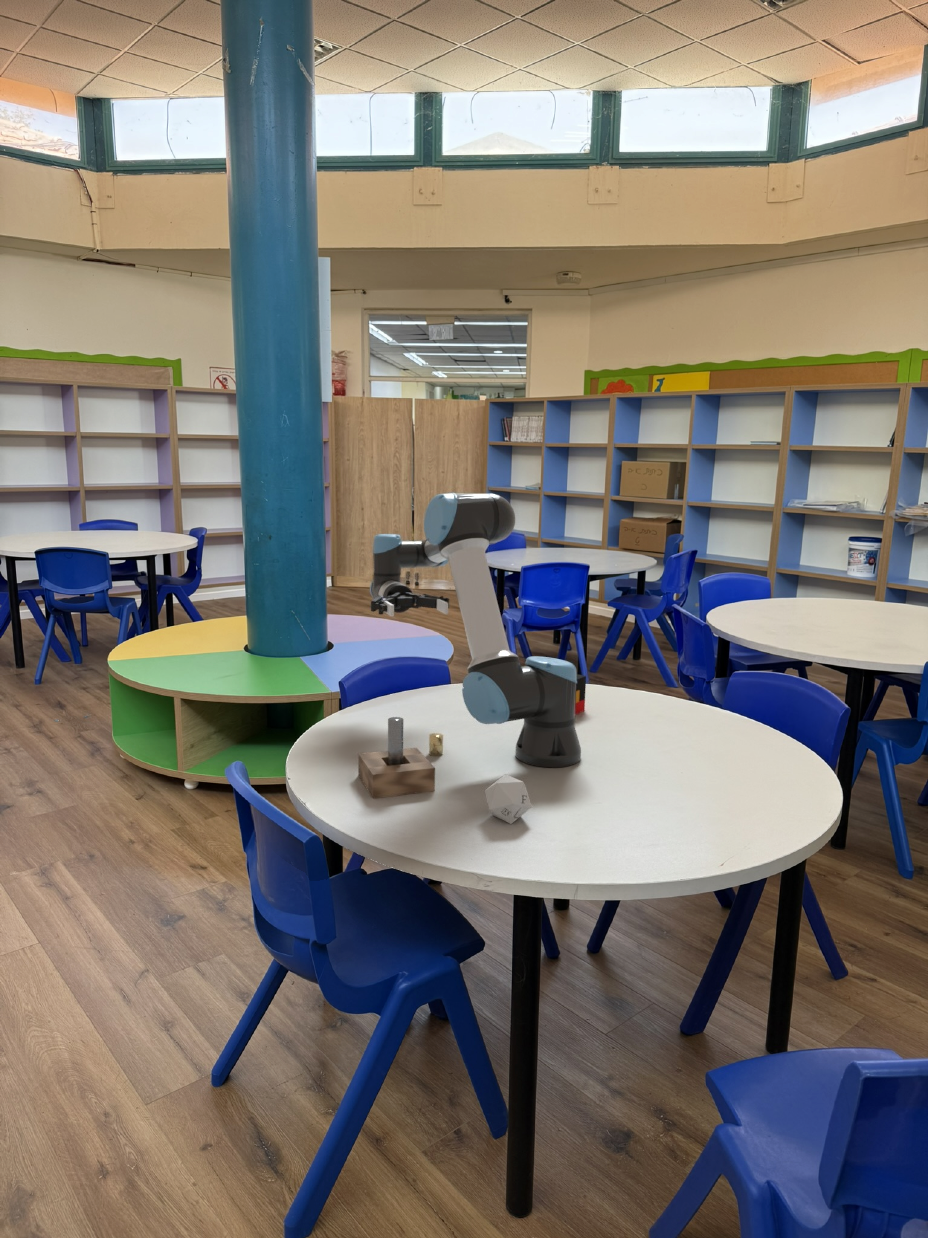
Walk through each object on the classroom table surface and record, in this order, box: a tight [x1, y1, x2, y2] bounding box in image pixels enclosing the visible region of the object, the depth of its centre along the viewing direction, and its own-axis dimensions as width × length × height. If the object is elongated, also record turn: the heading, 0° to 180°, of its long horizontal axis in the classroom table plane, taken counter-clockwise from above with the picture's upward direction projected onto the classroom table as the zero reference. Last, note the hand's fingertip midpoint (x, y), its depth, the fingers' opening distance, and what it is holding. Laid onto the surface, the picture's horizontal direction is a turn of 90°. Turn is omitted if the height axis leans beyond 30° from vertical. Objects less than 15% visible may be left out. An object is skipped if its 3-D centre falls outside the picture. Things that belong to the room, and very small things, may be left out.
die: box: [484, 773, 533, 825], centre depth 156 cm, size 8×9×10 cm
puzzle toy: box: [575, 673, 587, 716], centre depth 227 cm, size 10×10×10 cm
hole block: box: [357, 747, 436, 799], centre depth 172 cm, size 13×13×5 cm
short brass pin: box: [428, 732, 444, 757], centre depth 191 cm, size 3×3×4 cm
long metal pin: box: [387, 716, 404, 766], centre depth 171 cm, size 3×3×14 cm
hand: (419, 609), depth 197 cm, fingers open, 13 cm apart
